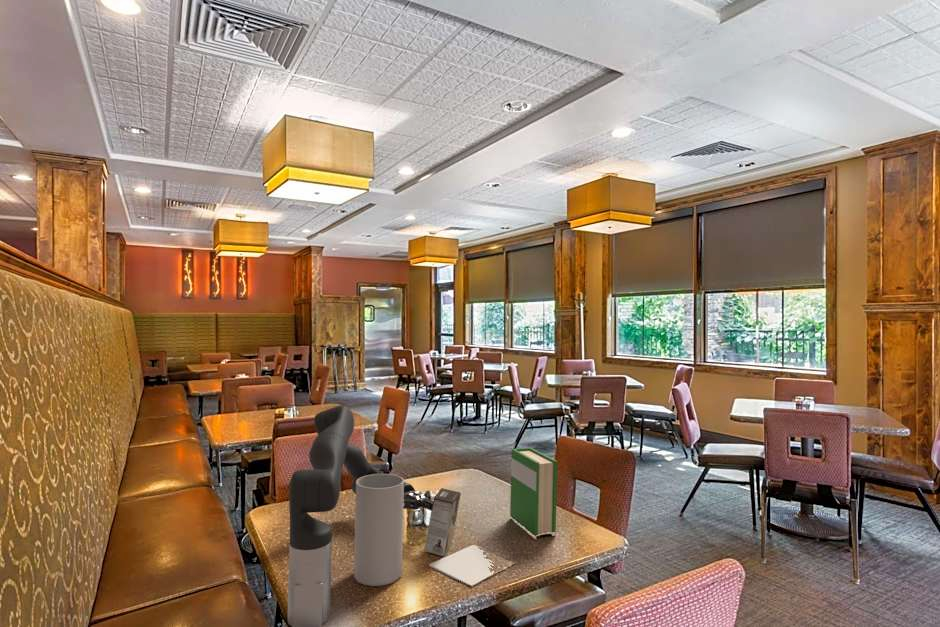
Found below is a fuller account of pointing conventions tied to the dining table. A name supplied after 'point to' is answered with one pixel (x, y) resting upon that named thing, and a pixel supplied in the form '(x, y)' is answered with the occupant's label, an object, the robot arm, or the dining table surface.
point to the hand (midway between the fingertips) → (434, 506)
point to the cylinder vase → (378, 529)
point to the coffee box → (442, 521)
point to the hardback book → (533, 490)
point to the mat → (465, 565)
